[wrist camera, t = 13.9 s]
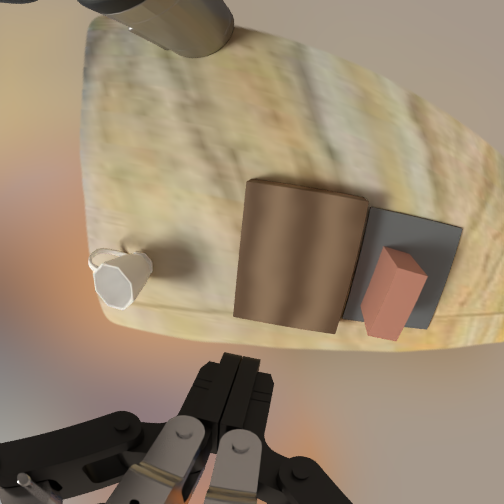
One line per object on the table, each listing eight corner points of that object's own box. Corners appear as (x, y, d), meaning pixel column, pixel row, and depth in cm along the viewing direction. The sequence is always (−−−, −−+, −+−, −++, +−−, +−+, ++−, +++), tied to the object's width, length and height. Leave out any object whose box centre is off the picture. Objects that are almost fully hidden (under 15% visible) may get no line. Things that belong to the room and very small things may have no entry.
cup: (153, 293, 44) (127, 319, 37) (104, 260, 44) (74, 281, 37) (167, 258, 42) (140, 281, 34) (114, 224, 42) (81, 241, 34)
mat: (342, 317, 40) (342, 318, 40) (370, 206, 34) (370, 207, 34) (426, 327, 38) (426, 329, 38) (461, 228, 32) (462, 228, 32)
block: (367, 335, 32) (396, 341, 32) (397, 267, 29) (427, 276, 28) (360, 305, 38) (385, 311, 38) (383, 246, 35) (409, 253, 35)
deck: (238, 305, 42) (233, 316, 40) (251, 178, 36) (246, 181, 33) (333, 321, 40) (335, 334, 38) (364, 197, 34) (368, 201, 31)
